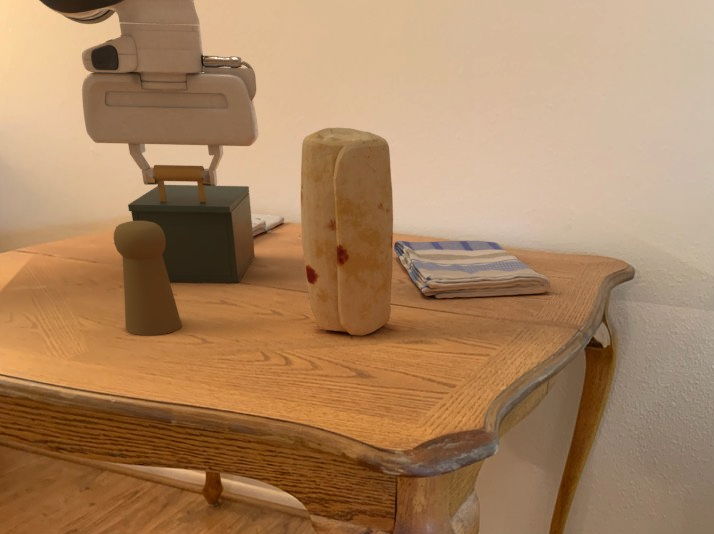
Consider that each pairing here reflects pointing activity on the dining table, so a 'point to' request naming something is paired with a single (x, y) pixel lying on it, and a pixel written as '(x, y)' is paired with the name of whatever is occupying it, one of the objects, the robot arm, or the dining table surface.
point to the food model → (347, 228)
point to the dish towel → (467, 269)
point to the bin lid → (187, 193)
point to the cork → (146, 279)
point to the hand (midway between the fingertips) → (180, 184)
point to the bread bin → (205, 243)
